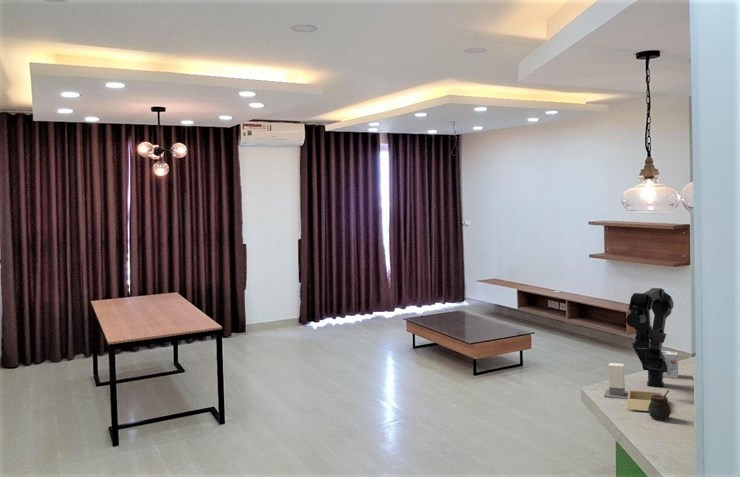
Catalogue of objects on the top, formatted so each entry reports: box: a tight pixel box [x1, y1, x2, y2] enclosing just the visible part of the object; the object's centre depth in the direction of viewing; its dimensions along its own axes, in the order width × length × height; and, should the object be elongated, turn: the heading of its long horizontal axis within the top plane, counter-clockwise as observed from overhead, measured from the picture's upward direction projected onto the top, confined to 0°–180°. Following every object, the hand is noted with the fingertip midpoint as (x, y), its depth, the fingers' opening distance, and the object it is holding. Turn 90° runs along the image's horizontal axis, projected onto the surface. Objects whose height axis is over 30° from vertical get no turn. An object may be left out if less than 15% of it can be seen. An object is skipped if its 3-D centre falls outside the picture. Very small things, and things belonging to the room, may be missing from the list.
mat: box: [603, 389, 629, 400], centre depth 249 cm, size 10×9×1 cm
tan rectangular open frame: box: [626, 389, 664, 412], centre depth 235 cm, size 19×12×4 cm, turn 154°
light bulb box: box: [661, 350, 679, 379], centre depth 275 cm, size 11×7×11 cm, turn 62°
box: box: [608, 362, 626, 396], centre depth 249 cm, size 4×6×12 cm
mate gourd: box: [647, 389, 672, 421], centre depth 219 cm, size 7×8×10 cm
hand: (644, 361), depth 251 cm, fingers open, 9 cm apart
